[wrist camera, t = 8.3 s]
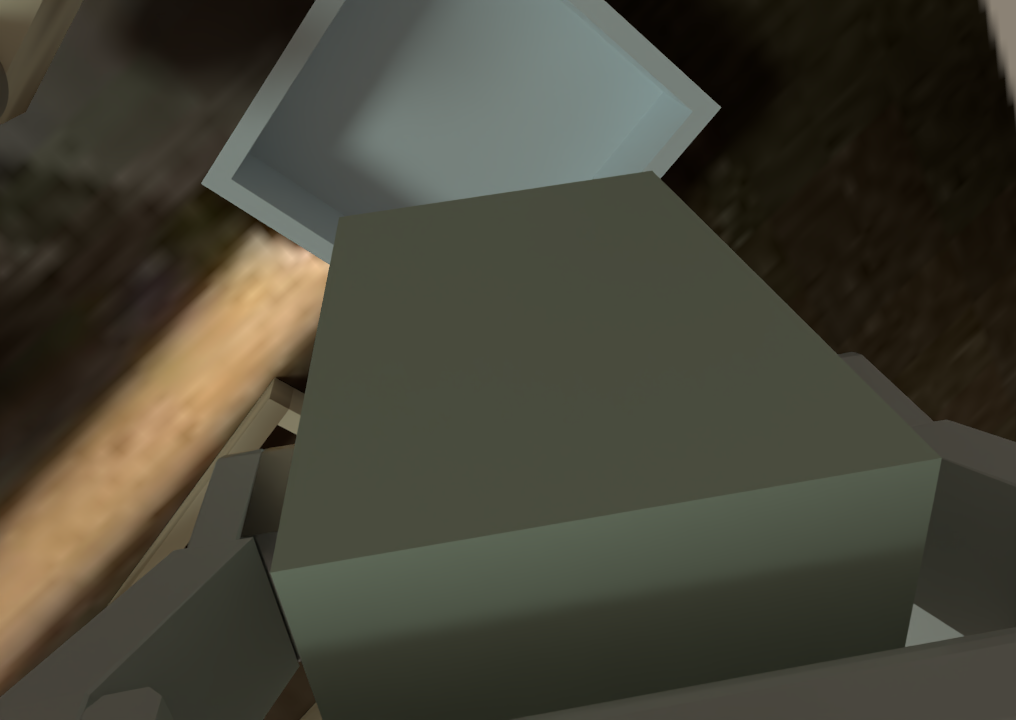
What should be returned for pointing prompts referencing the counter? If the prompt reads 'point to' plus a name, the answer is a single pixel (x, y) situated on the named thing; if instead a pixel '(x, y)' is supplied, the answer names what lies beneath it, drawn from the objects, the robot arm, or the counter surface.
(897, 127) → the counter surface
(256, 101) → the tray
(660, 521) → the block
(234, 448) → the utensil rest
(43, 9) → the crank
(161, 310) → the counter surface
